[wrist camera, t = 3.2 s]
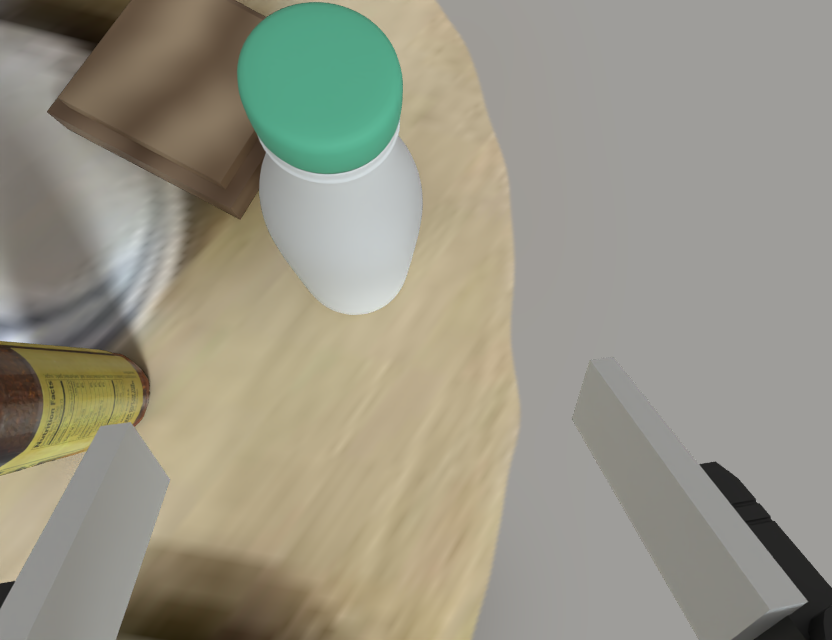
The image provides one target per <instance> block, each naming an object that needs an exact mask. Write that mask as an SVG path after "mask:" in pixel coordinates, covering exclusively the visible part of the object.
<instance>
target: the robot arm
mask: <svg viewBox="0 0 832 640" xmlns="http://www.w3.org/2000/svg"><path fill="white" fill-rule="evenodd" d="M572 420H573V422H574V424H575V425H576V427H577V428H578V431H579V432H580V434H581V436H582V438H583V439H584V441H585V443H586V444H587V446H588V448H589V449H590V451H591V453H592V455H593V457H594V458H595V460H596V462H597V464H598V465H599V467H600V469H601V471H602V472H603V474H604V476H605V477H606V479H607V481H608V483H609V484H610V486H611V488H612V489H613V491H614V493H615V495H616V497H617V498H618V500H619V502H620V504H621V505H622V507H623V509H624V510H625V512H626V514H627V516H628V517H629V519H630V521H631V522H632V524H633V526H634V528H635V530H636V531H637V533H638V535H639V536H640V538H641V540H642V542H643V543H644V545H645V547H646V549H647V551H648V552H649V554H650V556H651V557H652V559H653V561H654V563H655V564H656V566H657V568H658V570H659V571H660V573H661V575H662V577H663V578H664V580H665V582H666V584H667V585H668V587H669V589H670V591H671V592H672V594H673V596H674V597H675V599H676V601H677V603H678V604H679V606H680V608H681V609H682V611H683V613H684V615H685V616H686V618H687V620H688V622H689V623H690V625H691V627H692V629H693V630H694V632H695V634H696V636H697V637H698V639H699V640H832V588H831V586H830V585H829V584H828V583H827V582H826V581H825V580H824V578H823V577H822V576H821V575H820V574H819V573H818V571H817V570H816V569H815V568H814V567H813V566H812V564H811V563H810V562H809V561H808V560H807V559H806V557H805V556H804V555H803V554H802V553H801V552H800V550H799V549H798V548H797V547H796V546H795V544H794V543H793V542H792V541H791V540H790V539H789V537H788V536H787V535H786V534H785V533H784V532H783V531H782V529H781V528H780V527H779V526H778V525H777V523H776V522H775V521H772V520H771V518H770V515H769V514H768V513H767V512H766V511H765V509H764V508H763V507H762V506H761V505H760V504H758V503H757V502H756V499H755V498H754V496H753V495H752V494H751V493H750V492H749V491H748V489H747V488H746V487H745V486H744V485H743V484H742V483H741V481H740V480H739V479H738V478H737V477H735V476H734V475H733V474H731V473H730V472H729V471H727V470H726V469H725V468H723V467H722V466H721V465H719V464H718V463H717V462H710V463H704V464H698V462H697V461H696V460H695V459H694V457H693V456H692V455H691V454H690V452H689V451H688V450H687V449H686V447H685V446H684V445H683V444H682V442H681V441H680V440H679V439H678V437H677V436H676V435H675V433H674V432H673V431H672V430H671V428H670V427H669V426H668V425H667V423H666V422H665V421H664V420H663V419H662V417H661V416H660V415H659V413H658V412H657V411H656V410H655V408H654V407H653V406H652V405H651V403H650V402H649V401H648V399H647V398H646V397H645V396H644V394H643V393H642V392H641V391H640V390H639V388H638V387H637V386H636V384H635V383H634V382H633V381H632V379H631V378H630V377H629V376H628V374H627V373H626V372H625V371H624V369H623V368H622V367H621V366H620V364H619V363H618V362H617V361H616V359H615V358H614V357H608V358H601V359H593V360H590V361H589V365H588V368H587V371H586V374H585V378H584V381H583V384H582V387H581V391H580V394H579V397H578V401H577V404H576V407H575V410H574V414H573V417H572ZM169 482H170V479H169V477H168V476H167V474H166V473H165V471H164V470H163V468H162V467H161V465H160V464H159V463H158V461H157V460H156V458H155V457H154V455H153V454H152V452H151V451H150V449H149V448H148V446H147V445H146V444H145V442H144V441H143V439H142V438H141V436H140V435H139V433H138V432H137V430H136V429H135V427H134V426H133V425H132V423H131V422H128V423H120V424H113V425H106V426H100V428H99V430H98V431H97V433H96V435H95V437H94V439H93V441H92V442H91V444H90V446H89V448H88V450H87V452H86V453H85V455H84V457H83V459H82V461H81V462H80V464H79V466H78V468H77V470H76V472H75V473H74V475H73V477H72V479H71V481H70V483H69V484H68V486H67V488H66V490H65V492H64V493H63V495H62V497H61V499H60V501H59V503H58V504H57V506H56V508H55V510H54V512H53V514H52V515H51V517H50V519H49V521H48V523H47V525H46V526H45V528H44V530H43V532H42V534H41V535H40V537H39V539H38V541H37V543H36V545H35V546H34V548H33V550H32V552H31V554H30V556H29V557H28V559H27V561H26V563H25V565H24V566H23V568H22V570H21V572H20V574H19V576H18V577H17V579H16V581H13V582H7V583H1V584H0V640H116V637H117V634H118V631H119V628H120V625H121V623H122V620H123V617H124V614H125V611H126V608H127V605H128V602H129V599H130V596H131V593H132V590H133V587H134V584H135V581H136V579H137V576H138V573H139V570H140V567H141V564H142V561H143V558H144V555H145V552H146V549H147V546H148V543H149V540H150V537H151V534H152V532H153V529H154V526H155V523H156V520H157V517H158V514H159V511H160V508H161V505H162V502H163V499H164V496H165V493H166V490H167V487H168V485H169Z"/></svg>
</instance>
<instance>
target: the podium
mask: <svg viewBox="0 0 832 640" xmlns="http://www.w3.org/2000/svg"><path fill="white" fill-rule="evenodd" d="M265 18H266V17H265V16H263V15H261V14H259V13H257V12H256V11H254V10H252V9H250V8H248V7H246V6H244V5H243V4H241V3H239V2H237V1H235V0H131V1H130V3H129V4H128V5H127V7H126V8H125V9H124V10H123V12H122V13H121V14H120V16H119V17H118V18H117V20H116V21H115V22H114V24H113V25H112V26H111V28H110V29H109V30H108V32H107V33H106V34H105V36H104V37H103V38H102V40H101V41H100V42H99V44H98V45H97V46H96V47H95V49H94V50H93V51H92V53H91V54H90V55H89V57H88V58H87V59H86V61H85V62H84V63H83V65H82V66H81V67H80V69H79V70H78V71H77V73H76V74H75V75H74V77H73V78H72V79H71V80H70V82H69V83H68V84H67V86H66V87H65V88H64V90H63V91H62V92H61V94H60V95H59V96H58V98H57V99H56V100H55V102H54V103H53V104H52V106H51V107H50V108H49V110H48V111H47V112H48V113H49V114H50V115H51V116H53V117H54V118H55V119H56V120H57V121H59V122H60V123H61V124H62V125H64V126H65V127H66V128H67V129H69V130H71V131H73V132H75V133H76V134H78V135H80V136H82V137H84V138H86V139H88V140H90V141H92V142H94V143H96V144H97V145H99V146H101V147H103V148H105V149H107V150H109V151H111V152H113V153H115V154H116V155H118V156H120V157H122V158H124V159H126V160H128V161H130V162H132V163H134V164H136V165H137V166H139V167H141V168H143V169H145V170H147V171H149V172H151V173H153V174H155V175H157V176H158V177H160V178H162V179H164V180H166V181H168V182H170V183H172V184H174V185H176V186H177V187H179V188H181V189H183V190H185V191H187V192H189V193H191V194H193V195H195V196H197V197H198V198H200V199H202V200H204V201H206V202H208V203H210V204H212V205H214V206H216V207H217V208H219V209H221V210H223V211H225V212H227V213H229V214H231V215H233V216H235V217H237V218H238V219H241V217H242V216H243V214H244V212H245V211H246V209H247V208H248V206H249V205H250V203H251V201H252V200H253V198H254V197H255V195H256V193H257V192H258V190H259V181H260V173H261V167H262V163H263V160H264V157H265V154H266V151H265V150H264V148H263V147H262V145H261V143H260V141H259V138H258V136H257V134H256V132H255V130H254V128H253V126H252V125H251V123H250V121H249V119H248V117H247V114H246V112H245V109H244V107H243V104H242V102H241V98H240V95H239V90H238V80H237V65H238V59H239V55H240V52H241V49H242V47H243V44H244V42H245V41H246V39H247V37H248V36H249V34H250V33H251V32H252V30H253V29H254V28H255V27H256V26H257V25H258V24H259V23H260V22H261V21H262V20H264V19H265Z"/></svg>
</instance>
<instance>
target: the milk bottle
mask: <svg viewBox="0 0 832 640" xmlns="http://www.w3.org/2000/svg"><path fill="white" fill-rule="evenodd" d="M237 80H238V90H239V95H240V98H241V102H242V104H243V107H244V109H245V112H246V114H247V117H248V119H249V121H250V123H251V125H252V126H253V128H254V130H255V132H256V134H257V136H258V138H259V141H260V143H261V145H262V147H263V148H264V150H265V151H266V154H265V157H264V160H263V163H262V167H261V173H260V181H259V194H260V204H261V210H262V213H263V217H264V220H265V223H266V226H267V228H268V231H269V233H270V235H271V237H272V239H273V241H274V242H275V244H276V246H277V247H278V249H279V251H280V252H281V254H282V255H283V257H284V258H285V259H286V261H287V262H288V264H289V265H290V266H291V268H292V269H293V271H294V272H295V273H296V275H297V276H298V277H299V278H300V280H301V281H302V282H303V284H304V285H305V286H306V288H307V289H308V290H309V291H310V293H311V294H312V295H313V296H314V297H315V298H316V299H317V300H318V301H319V302H320V303H322V304H323V305H324V306H326V307H328V308H330V309H331V310H334V311H336V312H339V313H343V314H350V315H360V314H367V313H370V312H374V311H376V310H378V309H380V308H382V307H384V306H385V305H387V304H388V303H389V302H390V301H392V300H393V299H394V298H395V296H396V295H397V294H398V292H399V291H400V289H401V288H402V286H403V284H404V281H405V279H406V276H407V273H408V270H409V266H410V263H411V260H412V256H413V253H414V249H415V245H416V241H417V238H418V234H419V229H420V223H421V217H422V208H423V207H422V187H421V182H420V177H419V173H418V170H417V167H416V164H415V162H414V160H413V158H412V156H411V153H410V152H409V150H408V148H407V146H406V145H405V144H404V142H403V141H402V139H401V138H400V137H399V136H398V133H399V128H400V114H401V108H402V96H403V80H402V72H401V68H400V64H399V61H398V58H397V55H396V52H395V50H394V48H393V46H392V44H391V43H390V41H389V40H388V38H387V37H386V35H385V34H384V33H383V32H382V31H381V30H380V29H379V28H378V27H377V26H376V25H375V24H374V23H373V22H372V21H370V20H369V19H368V18H366V17H365V16H363V15H361V14H360V13H358V12H356V11H354V10H351V9H349V8H346V7H343V6H340V5H336V4H330V3H322V2H309V3H301V4H295V5H292V6H288V7H285V8H283V9H280V10H278V11H276V12H274V13H273V14H271V15H269V16H268V17H266V18H265V19H264V20H262V21H261V22H260V23H259V24H258V25H257V26H256V27H255V28H254V29H253V30H252V32H251V33H250V34H249V36H248V37H247V39H246V41H245V42H244V44H243V47H242V49H241V52H240V55H239V59H238V65H237Z"/></svg>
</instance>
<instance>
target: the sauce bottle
mask: <svg viewBox="0 0 832 640" xmlns="http://www.w3.org/2000/svg"><path fill="white" fill-rule="evenodd" d="M149 386H150V385H149V381H148V378H147V377H146V376H145V374H144V372H143V371H142V370H141V369H140V368H139V367H138V366H137V365H136V364H135V363H134V362H133V361H131V360H130V359H129V358H127V357H126V356H124V355H121V354H117V353H111V352H108V351H104V350H98V349H88V348H77V347H65V346H52V345H41V344H29V343H17V342H5V341H0V476H1V475H5V474H9V473H12V472H16V471H20V470H22V469H26V468H29V467H33V466H36V465H39V464H42V463H45V462H49V461H53V460H56V459H60V458H64V457H67V456H71V455H74V454H78V453H81V452H85V451H87V450H88V448H89V446H90V444H91V442H92V441H93V439H94V437H95V435H96V433H97V431H98V430H99V428H100V426H106V425H113V424H120V423H128V422H131V423H132V425H133V426H134V427H135V426H136V425H137V424H138V423H139V422H140V421H141V419H142V418H143V417H144V414H145V411H146V408H147V405H148V401H149V395H150V392H149Z"/></svg>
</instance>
